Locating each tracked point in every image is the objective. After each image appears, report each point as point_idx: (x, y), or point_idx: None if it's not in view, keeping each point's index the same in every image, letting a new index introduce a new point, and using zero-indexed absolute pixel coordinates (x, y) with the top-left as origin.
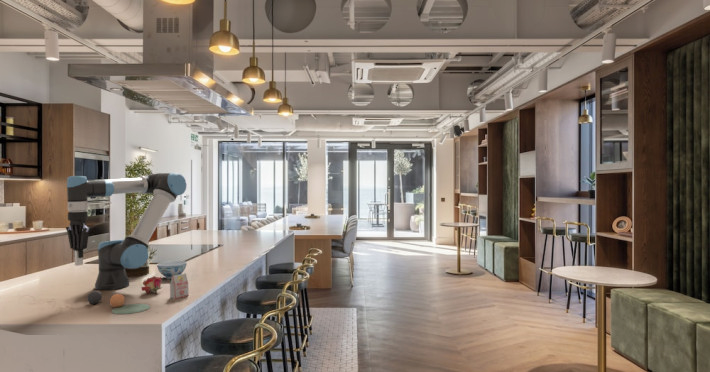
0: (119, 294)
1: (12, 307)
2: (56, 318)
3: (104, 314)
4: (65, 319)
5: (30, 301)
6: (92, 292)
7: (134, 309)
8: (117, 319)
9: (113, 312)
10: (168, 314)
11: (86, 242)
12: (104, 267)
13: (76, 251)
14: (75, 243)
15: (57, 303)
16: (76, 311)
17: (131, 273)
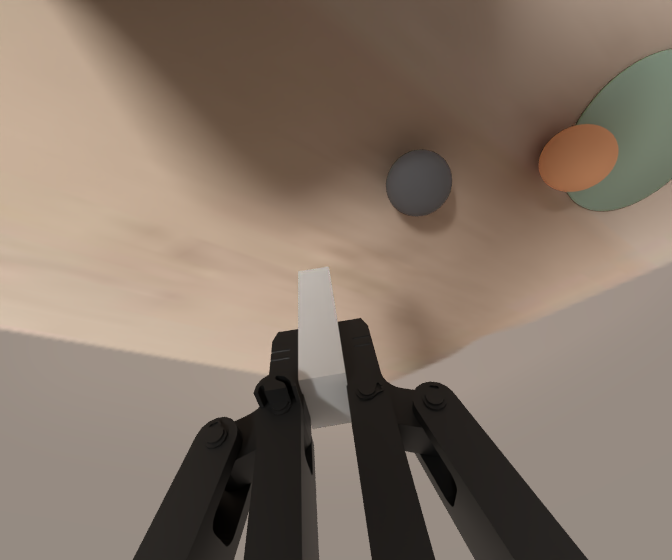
0: (612, 160)
1: (183, 349)
2: (448, 323)
3: (569, 233)
4: (483, 315)
5: (123, 295)
6: (431, 206)
7: (661, 141)
8: (652, 240)
9: (594, 209)
10: None
11: (515, 485)
12: None
13: (346, 414)
14: (314, 524)
15: (255, 254)
16: (439, 265)
17: None
